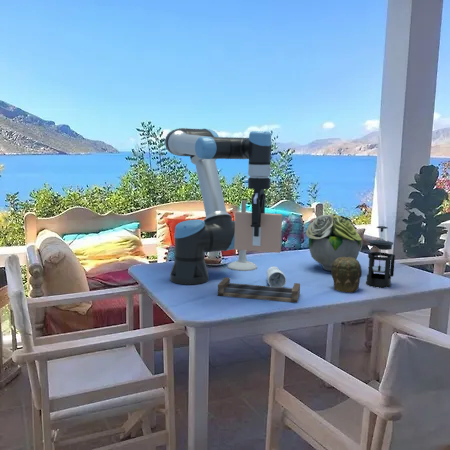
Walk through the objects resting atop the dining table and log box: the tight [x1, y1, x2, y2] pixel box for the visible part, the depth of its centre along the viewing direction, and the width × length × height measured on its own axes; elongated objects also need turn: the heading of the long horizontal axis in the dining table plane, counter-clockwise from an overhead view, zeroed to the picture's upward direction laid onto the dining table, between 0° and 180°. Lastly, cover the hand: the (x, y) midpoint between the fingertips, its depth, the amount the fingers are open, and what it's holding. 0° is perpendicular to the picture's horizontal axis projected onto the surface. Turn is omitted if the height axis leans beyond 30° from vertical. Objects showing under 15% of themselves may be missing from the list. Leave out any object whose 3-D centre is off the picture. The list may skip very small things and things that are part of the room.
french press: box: [365, 225, 396, 289], centre depth 186 cm, size 12×9×23 cm
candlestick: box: [227, 200, 258, 272], centre depth 209 cm, size 13×13×30 cm
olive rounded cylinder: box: [330, 257, 362, 293], centre depth 180 cm, size 11×11×12 cm
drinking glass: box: [266, 265, 287, 288], centre depth 185 cm, size 7×7×15 cm
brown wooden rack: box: [217, 277, 301, 304], centre depth 171 cm, size 28×10×4 cm, turn 76°
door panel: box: [233, 211, 283, 254], centre depth 167 cm, size 16×3×13 cm, turn 75°
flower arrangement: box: [305, 213, 363, 272], centre depth 208 cm, size 25×25×24 cm
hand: (257, 244), depth 168 cm, fingers closed on door panel, 3 cm apart
